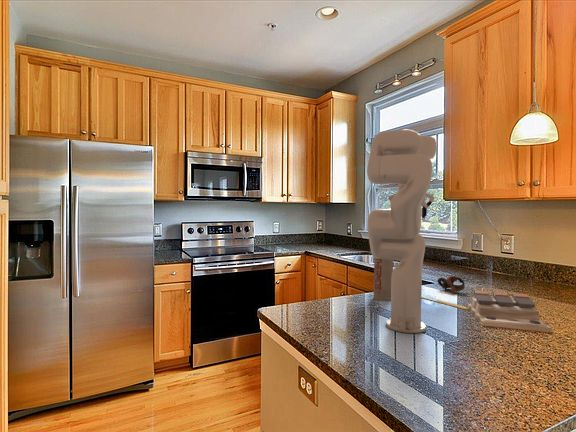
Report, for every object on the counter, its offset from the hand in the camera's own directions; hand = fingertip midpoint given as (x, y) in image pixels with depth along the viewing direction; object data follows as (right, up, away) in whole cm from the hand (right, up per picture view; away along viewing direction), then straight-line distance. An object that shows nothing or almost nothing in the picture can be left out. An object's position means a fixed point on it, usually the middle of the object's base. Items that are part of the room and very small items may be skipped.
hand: (410, 217), depth 135 cm
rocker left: (+25, -30, -7) cm, 39 cm away
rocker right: (+37, -30, -11) cm, 49 cm away
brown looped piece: (+30, -36, +29) cm, 55 cm away
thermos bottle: (-7, -36, +14) cm, 39 cm away
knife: (+14, -36, +13) cm, 41 cm away
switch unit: (+30, -36, -12) cm, 49 cm away
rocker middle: (+31, -30, -9) cm, 44 cm away
